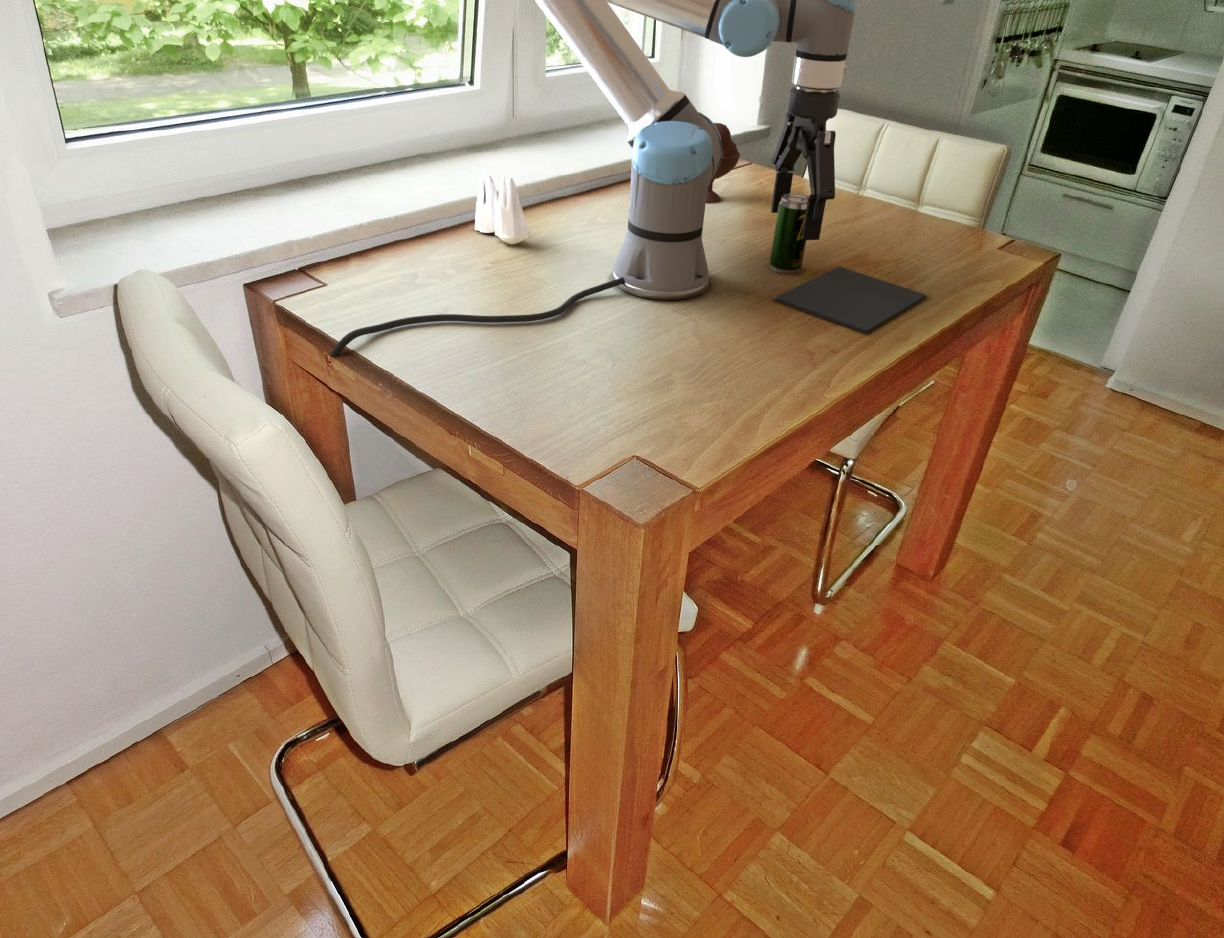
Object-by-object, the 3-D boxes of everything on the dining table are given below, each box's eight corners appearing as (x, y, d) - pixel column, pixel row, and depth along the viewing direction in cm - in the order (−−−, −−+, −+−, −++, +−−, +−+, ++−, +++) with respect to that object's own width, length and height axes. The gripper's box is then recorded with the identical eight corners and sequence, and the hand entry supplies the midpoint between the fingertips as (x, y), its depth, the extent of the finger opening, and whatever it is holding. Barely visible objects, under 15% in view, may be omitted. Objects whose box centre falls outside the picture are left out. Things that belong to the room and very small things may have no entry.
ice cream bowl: (742, 197, 184) (752, 121, 175) (717, 210, 176) (727, 131, 167) (696, 187, 188) (704, 112, 180) (670, 199, 180) (677, 121, 172)
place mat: (866, 334, 131) (867, 330, 131) (774, 300, 140) (775, 297, 140) (925, 298, 144) (926, 294, 144) (838, 269, 153) (839, 266, 152)
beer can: (764, 269, 151) (775, 198, 144) (775, 260, 155) (786, 190, 148) (794, 277, 149) (807, 205, 142) (805, 267, 153) (818, 197, 146)
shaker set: (531, 245, 154) (531, 181, 148) (510, 250, 152) (510, 184, 146) (492, 225, 162) (491, 163, 155) (472, 229, 159) (470, 166, 153)
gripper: (875, 106, 126) (847, 251, 138) (807, 72, 146) (787, 201, 158) (826, 106, 125) (801, 252, 137) (763, 71, 145) (747, 202, 157)
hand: (793, 225), depth 147 cm, fingers open, 13 cm apart
